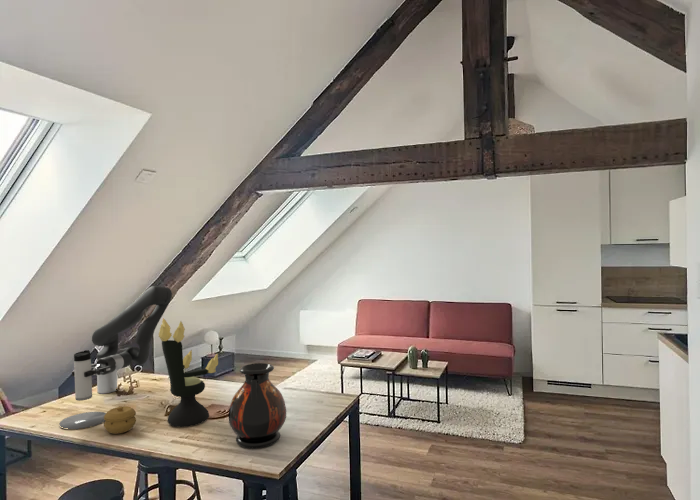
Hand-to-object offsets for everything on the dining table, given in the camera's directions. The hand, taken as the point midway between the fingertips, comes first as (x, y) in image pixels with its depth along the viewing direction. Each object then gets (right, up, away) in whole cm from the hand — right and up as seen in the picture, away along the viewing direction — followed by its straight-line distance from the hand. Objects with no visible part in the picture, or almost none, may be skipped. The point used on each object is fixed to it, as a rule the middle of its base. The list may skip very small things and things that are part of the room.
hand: (78, 374), depth 195 cm
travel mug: (+1, -11, +2) cm, 11 cm away
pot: (+22, -21, -9) cm, 32 cm away
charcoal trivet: (+1, -21, +2) cm, 21 cm away
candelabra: (+46, -20, -1) cm, 50 cm away
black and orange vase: (+81, -20, -21) cm, 85 cm away
